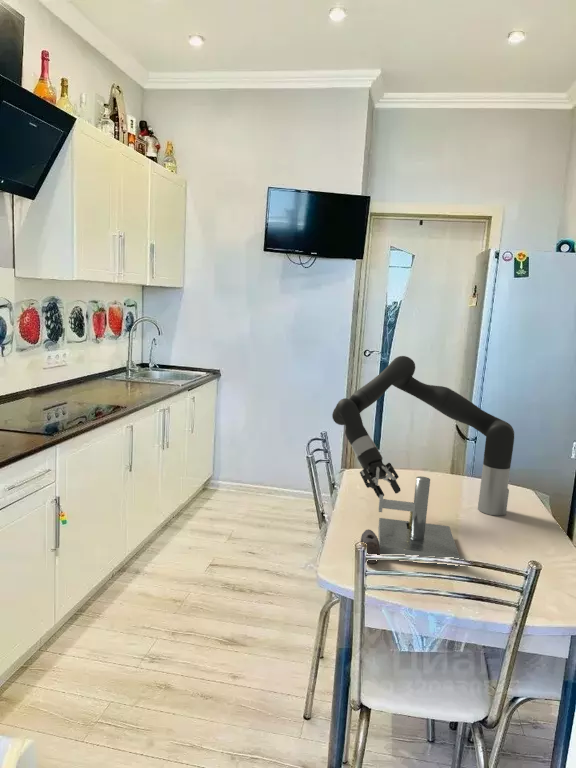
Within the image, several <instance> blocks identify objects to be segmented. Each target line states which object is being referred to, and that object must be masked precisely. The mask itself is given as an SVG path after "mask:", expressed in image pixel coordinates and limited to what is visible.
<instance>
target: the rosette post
mask: <svg viewBox="0 0 576 768" xmlns="http://www.w3.org/2000/svg"><path fill="white" fill-rule="evenodd" d="M430 486H431V478H429V477H428V476H427V477H426V476H422V475H421V476H416V478H415V487H414V497H413V502H411V501H404V500H393V499H386V498H384V496H383V495H380V497H379V498H378V499H379V500H378V513H383V509H386V510H393V511H396V510H397V511H403V512H409V513H410V512H413V515H412V525H411V529H408V526H409V520H401V519H392V518H383V517H378V518H379V520H378V527H377V530H378V541H379V545H380V554H405V555H419V556H435V557H454V558H459V559H460V558H461V557H460V553H459V551H458V547H457V545H456V542H455V539H454V536H453V533H452V531H451V528H450V525H443V524H434V523H427V514H428V505H429V496H430ZM413 563H416V564H418V563H417V562H413ZM420 564H423V565H430V566H431V565H432V566H438V567H446V568H452V569H459V567H460V566H455V565H447V564H437V563H420Z"/></svg>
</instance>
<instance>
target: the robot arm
mask: <svg viewBox="0 0 576 768" xmlns="http://www.w3.org/2000/svg"><path fill="white" fill-rule="evenodd" d="M415 370H416V363H415V361H414V360H413V359H412V358H411V357H409V356H406V355H400V356H397V357H395V358H394V359H393V360H392V361H391V362H390V363H389V364H388V366H386V367H385V368H384V369H383V370H382V371H381V372H380V373H378V374H377V375H376V376H375V377H374V378H373V379H372V380H370V381H369V382H367V383H366V384H365V385H363V386H362V387H360V388H358V389H357V390H356V391H354V393H352V395H350V397H349V398H347V397H346V398H342V399H340V400H339V401H338V402H337V404H336V405H335V407H334V408H333V411H332V414H331V415H332V416H331V417H332V420H333V422H335V424H337V425H339V426H345V430H344V431H345V437H346V439H347V440H348V442H349V444H350V446H351V449H352V451H353V453H354V455H355V457H356V459H357V460H358V462H359V465H360V466H361V467H362V469H361V470H360V471H359V474H360V476H361V478H362V480H363V483H364V485H365V487H366V488H367V489H369V488H371V490H372V489H373V491H374V493H375V494H376V496H377V498H378V499H379V497H380V495H383V497H385V492H384V491H383V490H382V488H381V485H379V480H383V481H386V482H387V483H388V484H389V485H390V487H391V488H392V491H393V492H394V494H399V493H400V492H401V487H400V485H399V484H398V481H397V479H399V475H398V473H397V471H396V470H395V468H394V467H393V465H392V463H390V462H387V463H386V464H384V462H383V456H382V455H381V453H380V451H379V449H378V447H377V446H376V444H375V442H374V440H373V439H372V438H371V436H370V435H369V433H368V431H367V429H366V428H365V426H364V423H363V420H362V416H361V413H362V412H363V411H365V409H367V408H369V407H370V406H371V405H373V404H374V403H375V402H377V401H378V400H379V399H380V398H381V397H382V396H383V395H384V394H385V393H386V391H387V390H388V389H389V388H390V387H391V386H394V387H395V388H397V389H399V390H400V391H403V392H404V393H406V394H409V395H411V396H413V397H415V398H416V399H419V400H420V401H421V402H424V403H425V404H427V405H429V406H431V407H432V408H433V409H435V410H436V411H438V412H439V413H441V414H443V415H444V416H446V417H448V418H449V419H452V420H454V421H457V422H459V423H461V424H464V425H466V426H467V425H468V426H469V427H471V428H473V429H475V430H477V431H478V432H480V433H481V434H482V435H483V436H484V437H485V444H484V452H483V462H482V464H483V465H482V471H481V480H480V488H479V494H478V495H479V496H478V503H477V504H478V505H477V510H478V511H479V512H481V513H483V514H486V515H489V516H490V515H491V516H506V515H507V511H508V509H507V508H508V501H509V496H510V495H509V494H510V489H509V479H510V471H511V466H512V465H511V464H512V458H513V450H514V443H515V430H514V428H513V426H512V425H511V424H510V423H509V422H507V421H505V420H503V419H501V418H499V417H497V416H494V415H493V414H490V413H488V412H487V411H485V410H483V409H482V408H480V407H478V406H477V405H476V404H474V403H473V402H471V401H470V400H469V399H467V398H465V397H464V396H462V395H461V394H459V393H458V392H457V391H455V390H453V389H451V388H450V387H447V386H443V385H442V386H441V385H432V384H427V383H424V382H421V381H419V380H418V379H417V378H415V377H413V376H414V374H415Z"/></svg>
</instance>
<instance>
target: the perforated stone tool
mask: <svg viewBox="0 0 576 768" xmlns="http://www.w3.org/2000/svg"><path fill="white" fill-rule="evenodd" d="M360 542H364V543H366V544H367V553H368V554H377V555H380V545H379V537H378V536H377V535H376V533H375V532H374V531H373V530H372V529H365V530H364V531H363V533H362V534H361V538H360ZM379 561H380V559H379V560H377V561H376V560H368V561H367V562H366V563H371V564H377V563H379Z"/></svg>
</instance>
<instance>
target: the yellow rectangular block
mask: <svg viewBox="0 0 576 768" xmlns="http://www.w3.org/2000/svg"><path fill="white" fill-rule="evenodd" d="M412 515H413V512H410V511H409V516H408V517H409V518H408V521H409V526H408V529H411V525H412Z"/></svg>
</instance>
